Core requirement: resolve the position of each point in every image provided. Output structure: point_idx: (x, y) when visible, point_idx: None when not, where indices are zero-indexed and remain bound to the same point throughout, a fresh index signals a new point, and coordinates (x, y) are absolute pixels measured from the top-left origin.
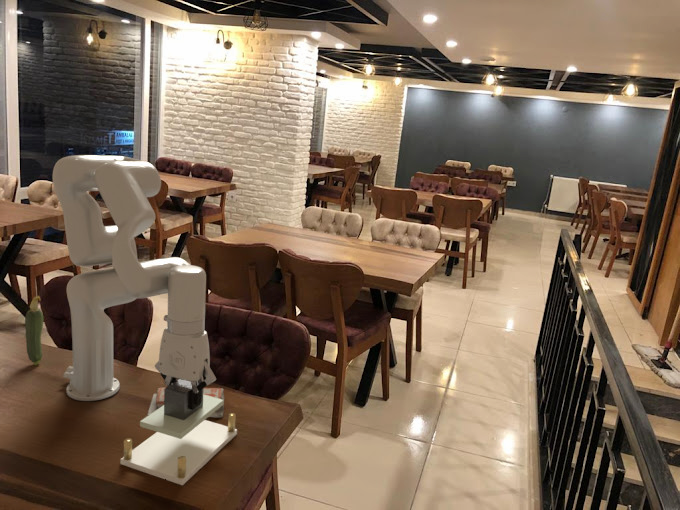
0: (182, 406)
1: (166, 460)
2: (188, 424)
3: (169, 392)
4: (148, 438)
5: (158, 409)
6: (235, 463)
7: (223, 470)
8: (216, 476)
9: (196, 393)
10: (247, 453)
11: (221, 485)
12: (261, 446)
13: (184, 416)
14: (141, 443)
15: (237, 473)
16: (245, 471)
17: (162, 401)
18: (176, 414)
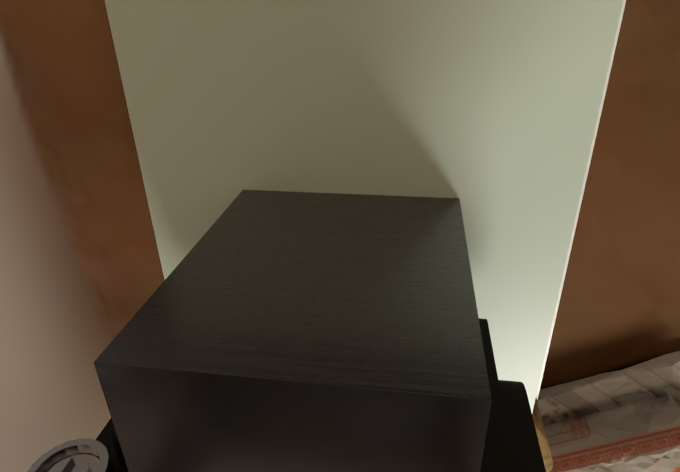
0: (212, 255)
1: None
2: (165, 149)
3: (384, 359)
4: (588, 161)
5: (558, 249)
6: (109, 189)
7: (112, 121)
8: (103, 65)
9: (107, 448)
10: (121, 268)
11: (37, 13)
12: (112, 325)
13: (232, 210)
14: (603, 98)
15: (52, 130)
16: (39, 157)
17: (674, 445)
18: (312, 207)
